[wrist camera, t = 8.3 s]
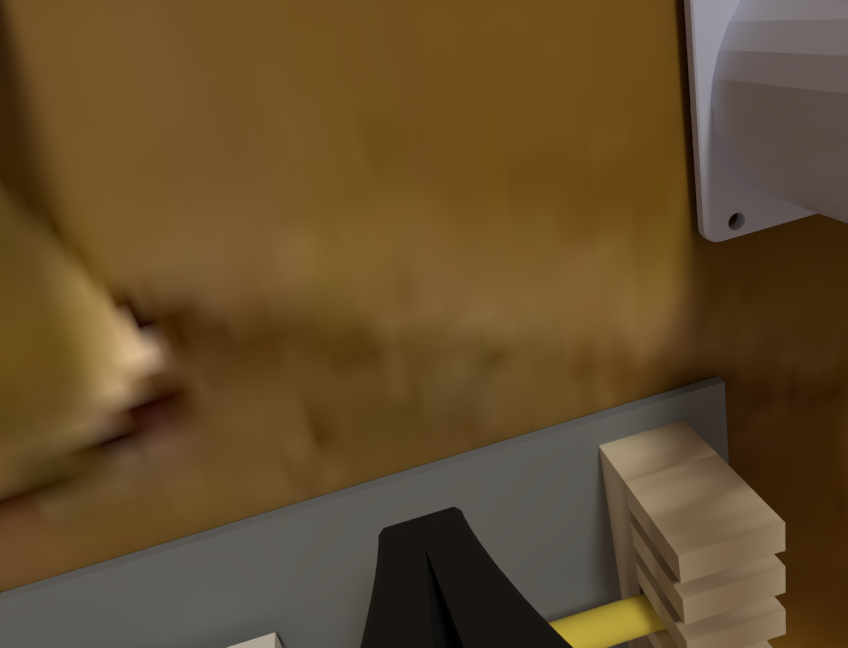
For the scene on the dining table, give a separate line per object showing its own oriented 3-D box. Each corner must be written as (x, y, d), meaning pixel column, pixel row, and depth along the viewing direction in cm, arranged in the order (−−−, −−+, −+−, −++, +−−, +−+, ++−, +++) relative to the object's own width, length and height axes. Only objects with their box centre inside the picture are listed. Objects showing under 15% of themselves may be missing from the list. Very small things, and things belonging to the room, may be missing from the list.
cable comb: (683, 419, 23) (785, 522, 18) (700, 625, 27) (786, 753, 22) (599, 445, 22) (678, 556, 18) (629, 649, 27) (700, 782, 22)
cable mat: (717, 376, 23) (724, 381, 22) (731, 624, 28) (737, 631, 27) (-93, 620, 21) (-100, 631, 21) (79, 835, 26) (76, 846, 26)
